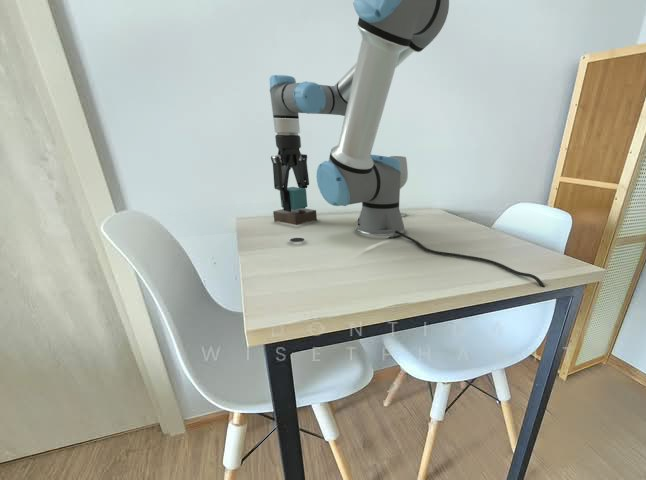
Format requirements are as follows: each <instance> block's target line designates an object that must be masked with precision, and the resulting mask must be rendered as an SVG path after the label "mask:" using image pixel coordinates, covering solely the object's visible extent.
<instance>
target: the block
mask: <svg viewBox="0 0 646 480" xmlns="http://www.w3.org/2000/svg"><path fill="white" fill-rule="evenodd" d="M287 191H289V194H290V204H291V209H293V210H296V209H300V208H304V207H305V208H308V198H307V188H305V189H304V188H299V187H298V186H289V187H287ZM279 197H280V198H281V194H280V193H279ZM280 205H281V208H282V209H283V201H282V200H281V199H280Z"/></svg>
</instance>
